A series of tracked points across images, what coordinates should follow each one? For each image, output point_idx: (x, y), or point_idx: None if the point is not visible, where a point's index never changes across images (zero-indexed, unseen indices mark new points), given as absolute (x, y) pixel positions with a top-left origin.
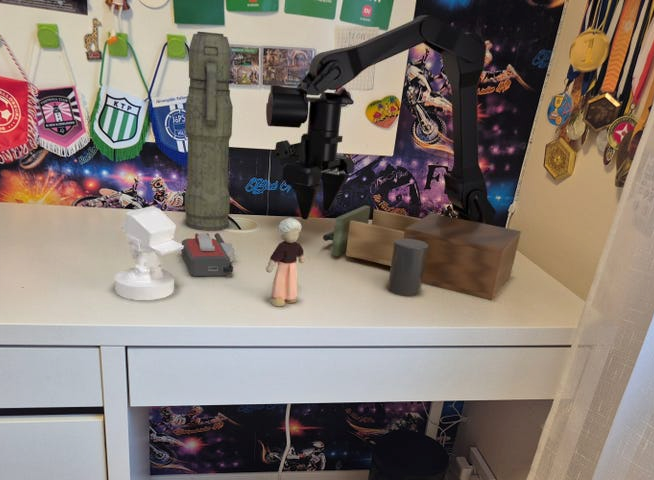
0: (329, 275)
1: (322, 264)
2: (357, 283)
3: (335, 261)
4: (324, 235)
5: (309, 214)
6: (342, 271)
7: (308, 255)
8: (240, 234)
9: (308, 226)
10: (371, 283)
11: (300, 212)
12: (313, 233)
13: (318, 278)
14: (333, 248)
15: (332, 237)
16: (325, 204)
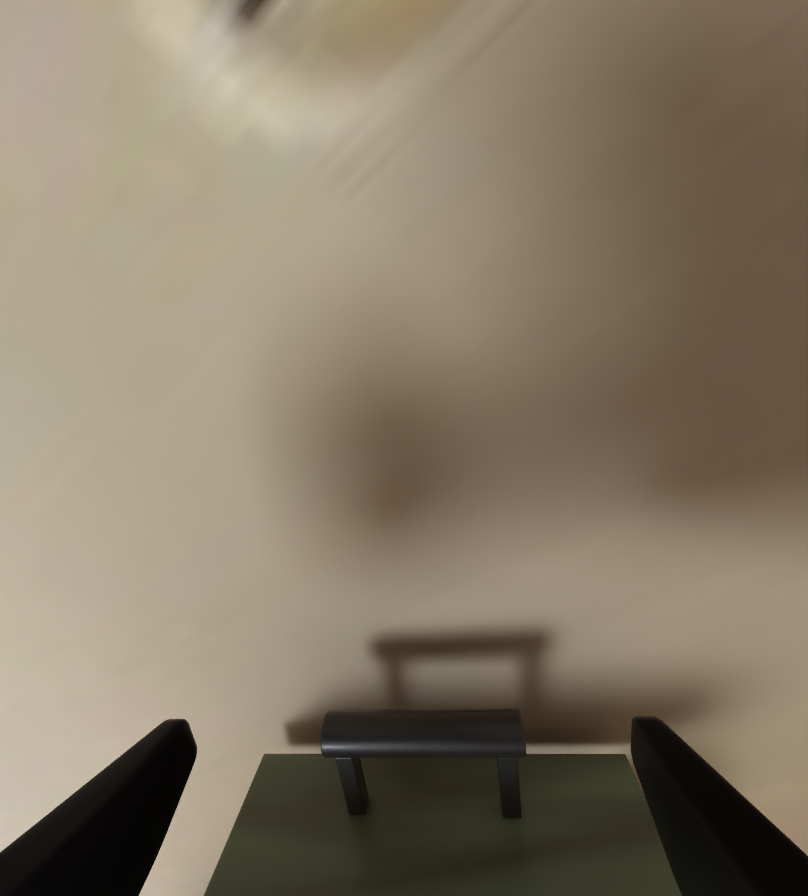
0: None
1: (195, 730)
2: (156, 865)
3: (272, 748)
4: (321, 739)
5: (168, 821)
6: (202, 802)
7: (233, 645)
8: (163, 132)
9: (779, 328)
10: (196, 890)
11: (103, 773)
12: (614, 461)
13: (73, 776)
14: (249, 794)
15: (340, 772)
16: (664, 800)
